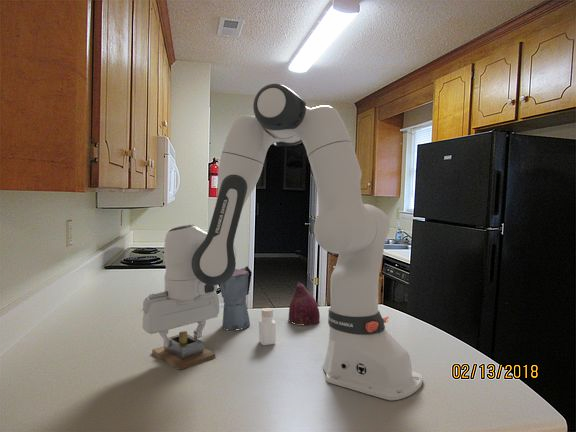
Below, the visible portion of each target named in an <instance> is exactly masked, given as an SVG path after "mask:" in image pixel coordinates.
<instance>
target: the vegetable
mask: <svg viewBox="0 0 576 432" xmlns="http://www.w3.org/2000/svg"><path fill="white" fill-rule="evenodd" d="M294 290H295V291H294V293H293V296H292V298H291V301H290V304H289V307H288V308H289V310H288V321H289V320H290V321H291V322H293V323H295V324H304V325H303V326H310V325H309V324H313V325H317V324H319V322H320V316H321V315H320V309H319V306H318V303H317V302H316V299H315V297H314V296H313V295H312V293H311V292H310V291H309V290H308V289H307V288H306V287H305V285H304V284H303V283H301V282H300V281H298V282H297V284H296V286H295V289H294ZM290 321H289V322H290ZM291 322H290V323H291ZM295 324H294V325H295Z"/></svg>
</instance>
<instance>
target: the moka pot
mask: <svg viewBox="0 0 576 432" xmlns="http://www.w3.org/2000/svg"><path fill="white" fill-rule="evenodd" d="M251 280H252V271H251V269H250V268H249V266H248V265H246V266H245V267H242V268H239V269H237V268H235V271H234V273H233V275H232V276H231V278H230V279H229V280H227V281H226V282H224V283H222V284H219V288H220V294H221V297H222V298H223V299H222V300H223V314H222V328H223V329H224V328H225V330H226V329H228V330H227V331H237V330H236V329H241V328H245V327H247V326H248V327H250V325H251V322H250V317H249V311H248V306H247V295H249V294H250V287H251ZM248 327H247V328H248ZM245 329H246V328H245ZM241 330H242V329H241Z"/></svg>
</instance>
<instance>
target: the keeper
mask: <svg viewBox="0 0 576 432" xmlns="http://www.w3.org/2000/svg"><path fill="white" fill-rule="evenodd" d="M187 334H188V331H187V330H181V331H179V332H178V335H179V343H180V344H182V345H187ZM151 352H152V355H154V356H155V357H158V358H159V359H160V360H163V361H164V362H166V363H168V365H171V366H172V367H174V368H176V369H177V370H179V371H182V370H185V369H187V368H190V367H192V366H196V365H198V364H201V363H203V362H206V361H207V362H208V361H209V360H213V359H216V353H215V352H212V351H211V350H209V349H207V348H204V347H203V354H200V355H197V356H194V357H191V358H187V359H184V360H181V359H179V358H177V357H175V356H174V355H172V354H170V353H169V352H167V351H165V350H164V345H163V346H160V347H156V348H153V349H152V351H151Z"/></svg>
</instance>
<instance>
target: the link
mask: <svg viewBox="0 0 576 432" xmlns="http://www.w3.org/2000/svg"><path fill="white" fill-rule="evenodd" d="M168 338H170V339H172V346H170V347H165V346H164V345H163V346H164V350H165V351H167V352H169V353H170V354H172V355H174V356H175V357H177V358H179V359H181V360H184V359H187V358H191V357H194V356H197V355H200V354H203V348H204V341H203V340H201V339H200V338H197V339H196V338H194V336H192V335H190V334H188V333H187V345H182V344H180V343H179V334H177V335H173V336H169V337H168Z"/></svg>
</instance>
